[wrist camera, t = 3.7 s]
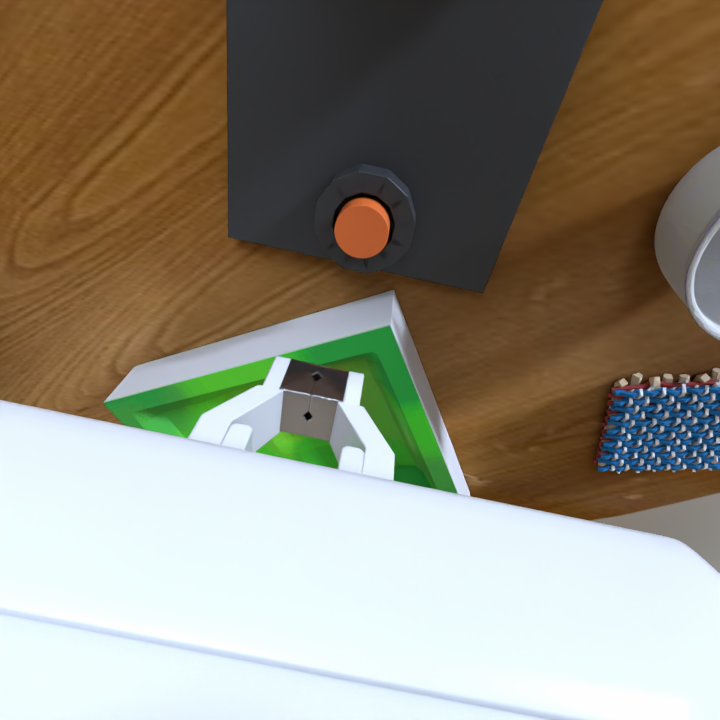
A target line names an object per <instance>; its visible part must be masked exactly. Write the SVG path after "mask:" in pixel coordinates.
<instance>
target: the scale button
mask: <svg viewBox="0 0 720 720" xmlns="http://www.w3.org/2000/svg"><path fill="white" fill-rule="evenodd" d="M389 229H390V219H389V215H388V213H387V211H386V209H385V208H384V207H383V206H382V205H381V204H380V203H379V202H378V201H376V200H374V199H371V198H367V197H360V198H355V199H353V200H351V201H349V202H348V203H346V204H345V205H344V207H343V208H342V209H341V211H340V213H339V216H338V218H337V220H336V223H335V228H334V234H335V238H336V241H337V243H338V245H339V247H340V248H341V249H342V250H343V251H344V252H345V253H347V254H348V255H350V256H352V257H356V258H369V257H372V256H375V255H376V254H378V253H379V252H380V251H381V250H382V249H383V248H384V247H385V245H386V243H387V240H388V236H389Z"/></svg>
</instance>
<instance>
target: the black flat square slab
mask: <svg viewBox="0 0 720 720" xmlns="http://www.w3.org/2000/svg"><path fill="white" fill-rule="evenodd" d="M602 2H603V0H227V115H228V237H230V238H234V239H239V240H243V241H248V242H252V243H257V244H262V245H266V246H271V247H275V248H280V249H284V250H289V251H293V252H298V253H303V254H307V255H312V256H316V257H321V258H325V259H330V260H333V261H335V262H336V263H337V264H338V265H339V266H341V267H342V268H345V269H349V270H354V271H358V272H363V273H370V272H374V271H377V270H380V271H385V272H389V273H394V274H398V275H403V276H407V277H412V278H416V279H421V280H425V281H430V282H435V283H439V284H444V285H448V286H453V287H457V288H462V289H466V290H471V291H476V292H480V293H483V292H484V289H485V287H486V284H487V282H488V279H489V277H490V274H491V272H492V270H493V267H494V265H495V262H496V260H497V257H498V255H499V253H500V250H501V248H502V245H503V243H504V240H505V238H506V236H507V233H508V231H509V228H510V226H511V223H512V221H513V219H514V216H515V214H516V211H517V209H518V206H519V204H520V201H521V199H522V197H523V194H524V192H525V189H526V187H527V184H528V182H529V180H530V177H531V175H532V172H533V170H534V167H535V165H536V163H537V160H538V158H539V155H540V153H541V150H542V148H543V146H544V143H545V141H546V138H547V136H548V133H549V131H550V129H551V126H552V124H553V121H554V119H555V116H556V114H557V111H558V109H559V107H560V104H561V102H562V99H563V97H564V94H565V92H566V90H567V87H568V85H569V82H570V80H571V77H572V75H573V73H574V70H575V68H576V65H577V63H578V60H579V58H580V56H581V53H582V51H583V48H584V46H585V43H586V41H587V38H588V36H589V34H590V31H591V29H592V26H593V24H594V21H595V19H596V17H597V14H598V12H599V9H600V7H601V4H602ZM360 197H367V198H371V199H374V200H376V201H378V202H379V203H380V204H381V205H382V206H383V207H384V208H385V209H386V211H387V213H388V215H389V219H390V229H389V236H388V240H387V243H386V245H385V247H384V248H383V249H382V250H381V251H380V252H379V253H378V254H376V255H375V256H372V257H369V258H356V257H352V256H350V255H348V254H347V253H345V252H344V251H343V250H342V249H341V248H340V247H339V245H338V243H337V241H336V238H335V234H334V228H335V223H336V220H337V218H338V216H339V213H340V211H341V209H342V208H343V207H344V205H345V204H346V203H348V202H349V201H351V200H353V199H355V198H360Z"/></svg>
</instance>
